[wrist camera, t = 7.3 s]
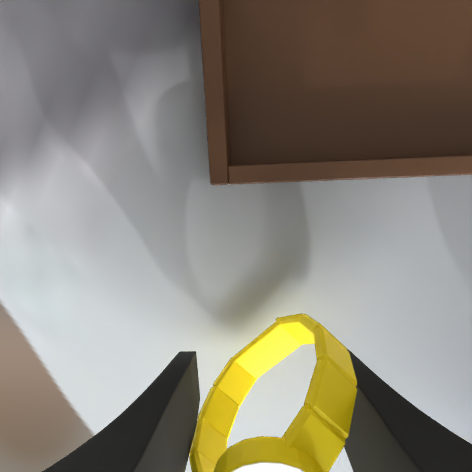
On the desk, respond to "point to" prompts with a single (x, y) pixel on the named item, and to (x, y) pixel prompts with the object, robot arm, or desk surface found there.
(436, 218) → the desk surface
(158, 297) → the desk surface
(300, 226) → the desk surface
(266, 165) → the tray
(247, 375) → the watch
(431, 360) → the desk surface
